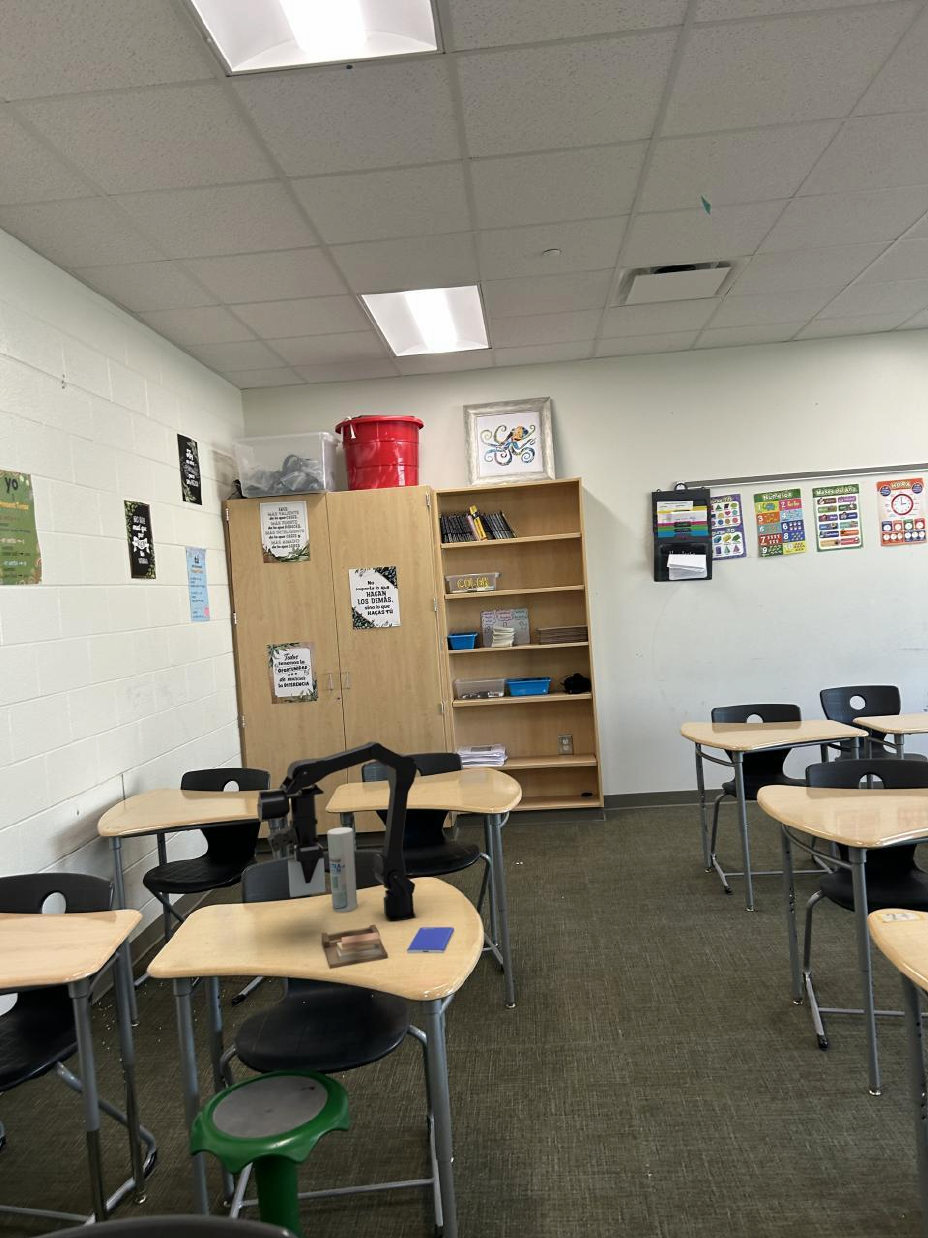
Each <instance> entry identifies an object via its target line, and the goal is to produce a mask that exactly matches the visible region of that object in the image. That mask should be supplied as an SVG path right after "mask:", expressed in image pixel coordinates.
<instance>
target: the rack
mask: <svg viewBox="0 0 928 1238" xmlns="http://www.w3.org/2000/svg"><path fill="white" fill-rule="evenodd" d="M377 932H378V933H379V934H380V932H379V929H378V928H377V925H376V924H370V925H369V926H368V927H362V928H361V927H360V928H357V929H351V930H350V929H349V930H344V931H339V932H338V931H337V932H331V933H328V932H322V933H321V944H322V947H323V951H324V954H325V956H326V960H327V964H328V966H329V969H335V968H340V967H345V966H352V965H356V964H362V963H368V962H373V961H379V960H384V959H388V958H389V957H388V952H387V951H386V948H385V946H384V944H383V942H382V941H381V939H380V943H379V945H380V947H381V953H382V954H379V955H374V956H368V957H362V958H357V959H351V960H346V961H339V958H338V955H337V943H339V942H342V937H348V936H356V935H363V934H370V933H377ZM379 937H381V936H380V935H379Z"/></svg>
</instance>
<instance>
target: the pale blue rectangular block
mask: <svg viewBox="0 0 928 1238" xmlns="http://www.w3.org/2000/svg"><path fill="white" fill-rule="evenodd" d="M287 868H288V883H289V886H288V887H289V888H288V889H289V896H290V898H294V897H301V896H306V895H312V894H313V895H314V894H318V893H325V892H326V881H325V880H326V878H325V875H326V874H325V862H324V858H322V859H319V861H318V863H317V866H316V869H315V871H314V874H313V877H312V880H311V882H310V883H307V884H306V883H305V879H304V875H303V870H302V866H301V863H300V862H297V861H296V859H295V858H291V859H288V860H287Z"/></svg>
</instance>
